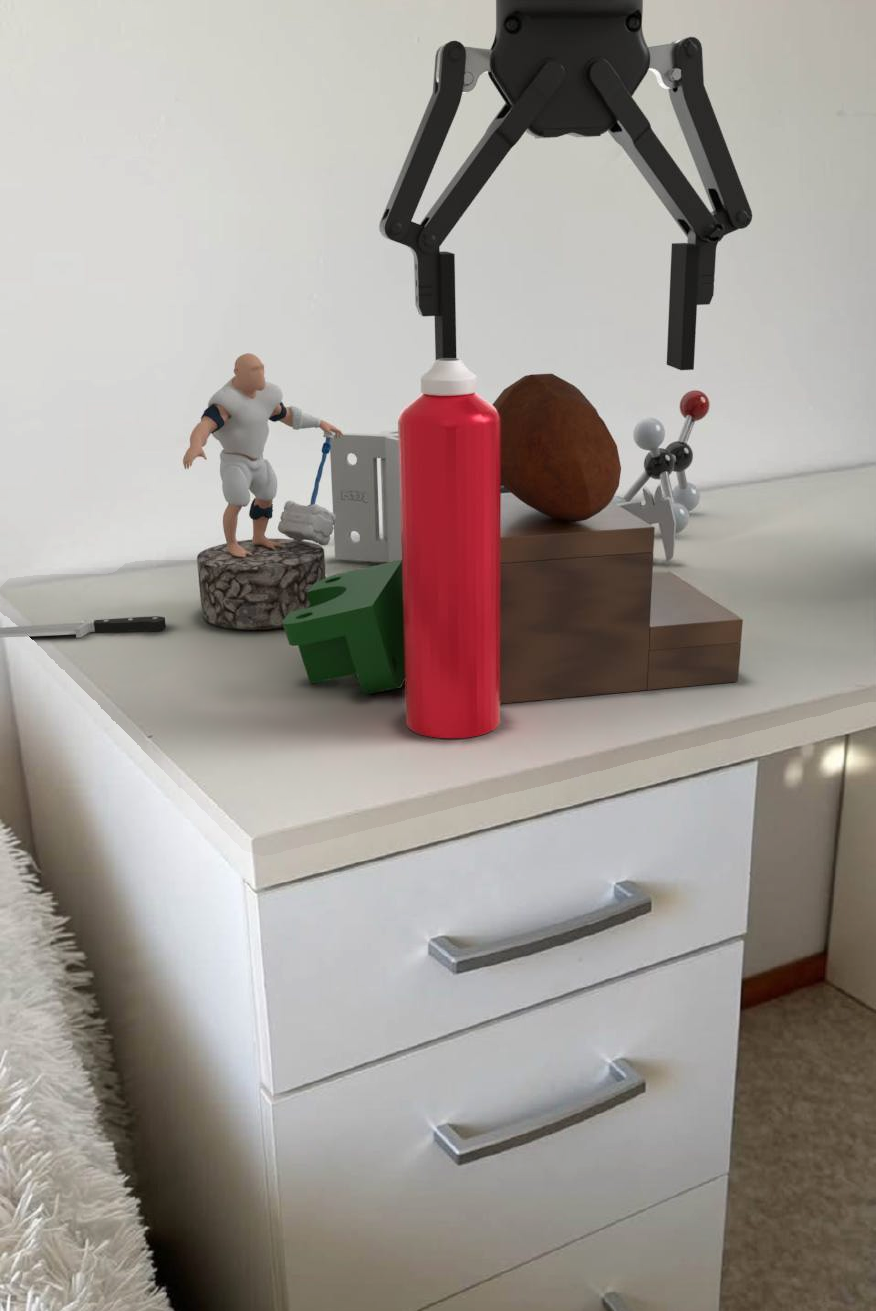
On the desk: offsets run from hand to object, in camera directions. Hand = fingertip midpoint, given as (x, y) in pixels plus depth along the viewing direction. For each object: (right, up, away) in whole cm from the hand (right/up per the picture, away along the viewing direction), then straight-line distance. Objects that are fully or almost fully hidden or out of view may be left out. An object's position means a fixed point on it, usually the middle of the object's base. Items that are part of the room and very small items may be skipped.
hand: (564, 373), depth 80 cm
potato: (0, -6, +6) cm, 9 cm away
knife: (-34, -12, +18) cm, 40 cm away
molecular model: (+13, +3, +48) cm, 49 cm away
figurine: (-20, -10, +23) cm, 32 cm away
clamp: (-12, -16, +11) cm, 23 cm away
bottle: (-6, -20, +2) cm, 21 cm away
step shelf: (+2, -15, +11) cm, 19 cm away
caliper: (+2, -3, +36) cm, 37 cm away
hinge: (-10, -4, +34) cm, 35 cm away
